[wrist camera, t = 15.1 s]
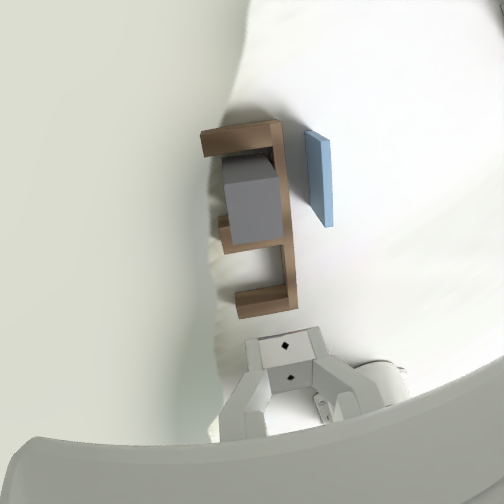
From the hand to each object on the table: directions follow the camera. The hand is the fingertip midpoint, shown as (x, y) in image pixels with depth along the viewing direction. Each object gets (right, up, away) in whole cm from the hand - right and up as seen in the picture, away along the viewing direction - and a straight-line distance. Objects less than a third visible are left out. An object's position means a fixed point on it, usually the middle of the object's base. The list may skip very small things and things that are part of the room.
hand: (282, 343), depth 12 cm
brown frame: (+1, +7, +20) cm, 21 cm away
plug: (-2, +11, +18) cm, 21 cm away
